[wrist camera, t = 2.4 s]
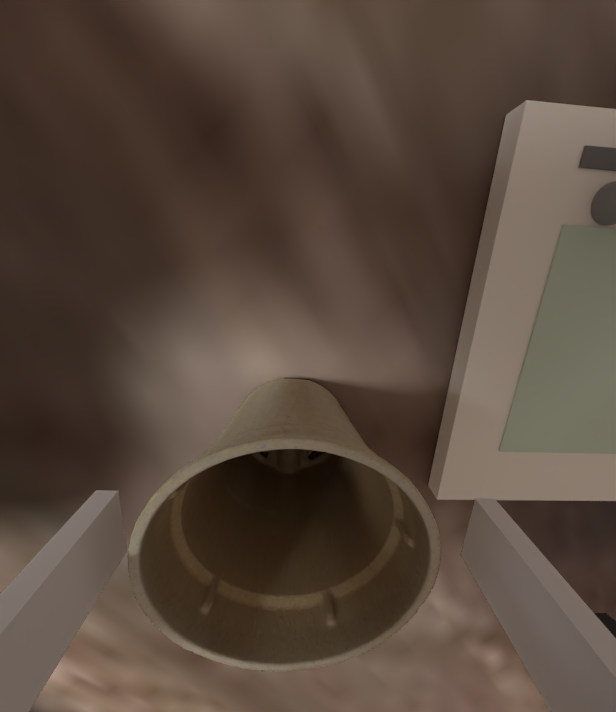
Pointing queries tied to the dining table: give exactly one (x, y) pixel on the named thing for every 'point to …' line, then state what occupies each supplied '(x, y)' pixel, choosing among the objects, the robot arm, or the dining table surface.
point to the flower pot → (284, 540)
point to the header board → (539, 320)
